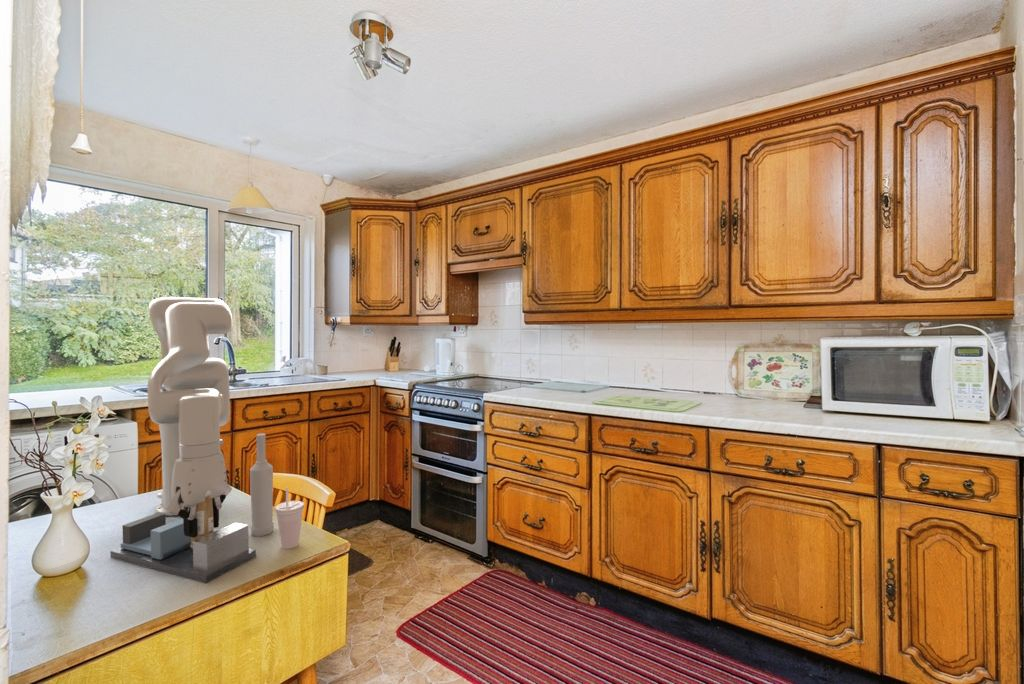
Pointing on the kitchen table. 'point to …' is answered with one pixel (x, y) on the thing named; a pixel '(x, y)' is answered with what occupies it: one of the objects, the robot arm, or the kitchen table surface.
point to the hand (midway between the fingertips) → (201, 530)
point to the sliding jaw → (155, 536)
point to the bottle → (261, 491)
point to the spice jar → (204, 518)
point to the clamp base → (179, 563)
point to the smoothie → (289, 522)
